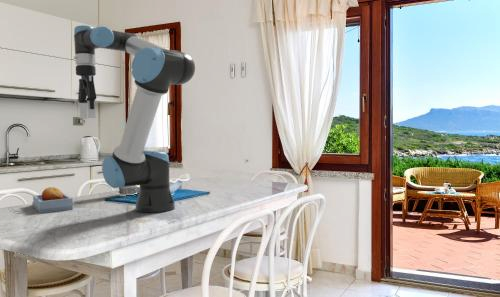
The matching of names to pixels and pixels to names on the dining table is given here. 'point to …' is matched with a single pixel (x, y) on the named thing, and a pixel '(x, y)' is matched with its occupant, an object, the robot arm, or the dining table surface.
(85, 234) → the dining table surface
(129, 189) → the decorative candle
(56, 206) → the blue-grey open box
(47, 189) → the fruit
